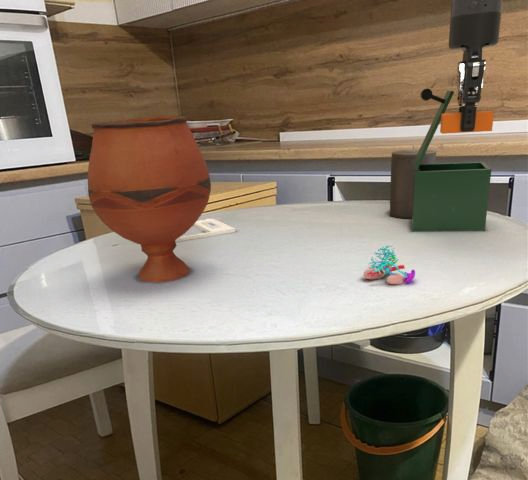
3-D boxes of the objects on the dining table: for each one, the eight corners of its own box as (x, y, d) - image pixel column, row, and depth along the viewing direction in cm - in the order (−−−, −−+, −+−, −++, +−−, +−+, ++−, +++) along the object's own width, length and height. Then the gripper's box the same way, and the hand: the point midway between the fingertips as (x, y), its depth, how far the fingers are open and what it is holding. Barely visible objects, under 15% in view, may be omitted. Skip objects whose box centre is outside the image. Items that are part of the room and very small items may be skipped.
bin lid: (450, 91, 105) (425, 81, 105) (454, 91, 95) (427, 80, 95) (416, 163, 112) (393, 153, 112) (416, 170, 102) (391, 160, 102)
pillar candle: (382, 217, 123) (383, 147, 116) (400, 209, 130) (402, 143, 123) (422, 220, 117) (427, 147, 111) (439, 211, 124) (444, 142, 118)
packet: (440, 132, 94) (441, 113, 93) (488, 129, 92) (490, 110, 91) (441, 133, 90) (443, 114, 89) (492, 131, 89) (494, 111, 87)
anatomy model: (386, 263, 74) (421, 248, 77) (348, 253, 80) (382, 239, 83) (388, 297, 76) (422, 281, 79) (352, 285, 83) (384, 270, 85)
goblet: (93, 299, 83) (56, 125, 72) (121, 264, 100) (94, 120, 89) (216, 290, 83) (197, 115, 72) (222, 257, 100) (207, 112, 89)
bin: (477, 219, 114) (483, 161, 109) (484, 232, 104) (491, 169, 99) (411, 220, 117) (414, 164, 112) (412, 233, 107) (415, 172, 102)
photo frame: (235, 227, 117) (155, 240, 110) (235, 232, 118) (156, 246, 111) (211, 217, 129) (138, 229, 123) (212, 222, 130) (139, 233, 123)
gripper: (509, 4, 77) (495, 132, 84) (494, 16, 89) (483, 126, 97) (454, 9, 79) (445, 134, 86) (447, 20, 91) (439, 129, 98)
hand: (465, 129), depth 91 cm, fingers closed on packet, 4 cm apart
